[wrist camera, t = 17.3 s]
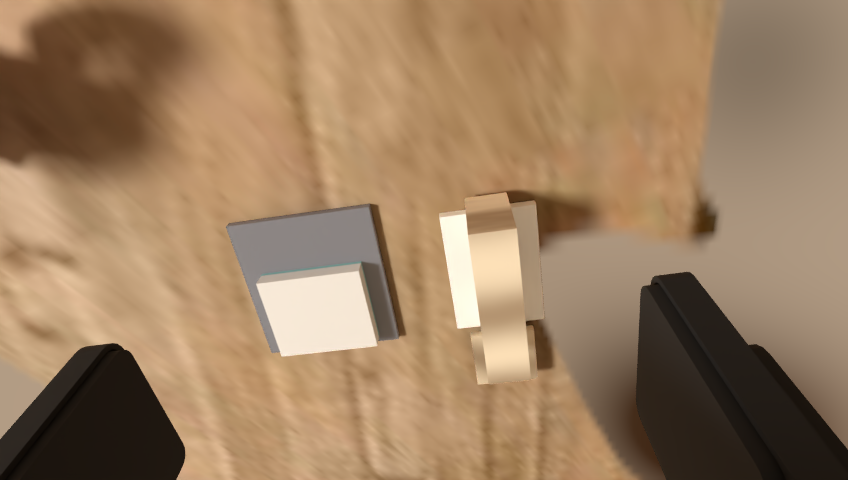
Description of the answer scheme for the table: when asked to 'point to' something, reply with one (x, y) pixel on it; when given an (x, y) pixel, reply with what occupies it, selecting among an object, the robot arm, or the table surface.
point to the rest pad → (463, 272)
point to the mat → (314, 255)
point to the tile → (319, 309)
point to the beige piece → (498, 294)
